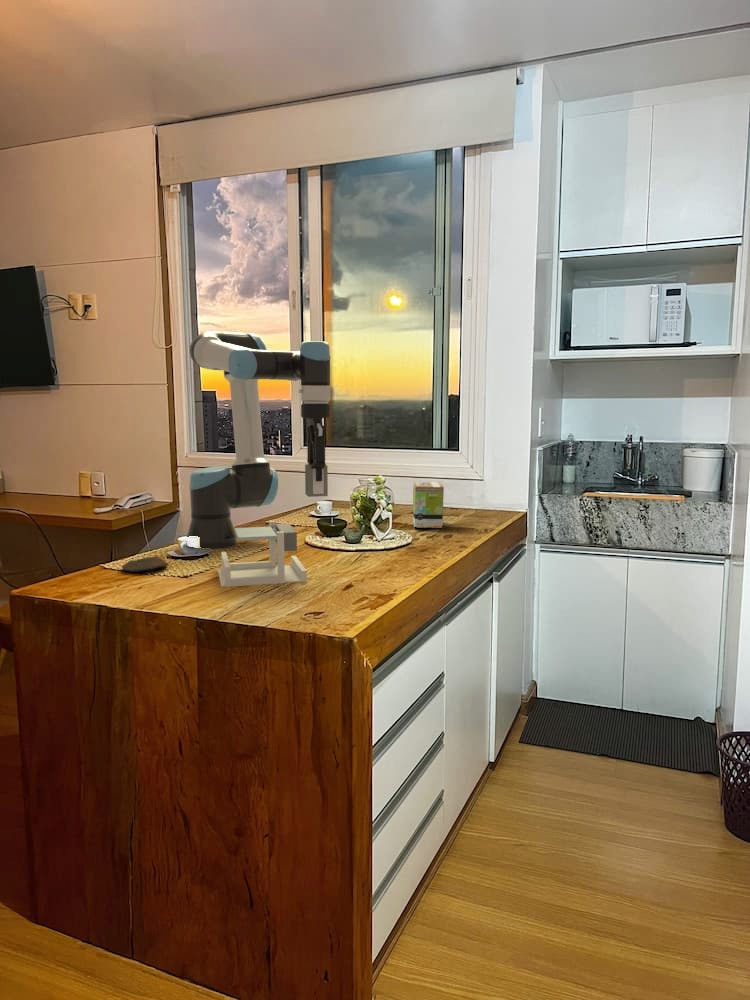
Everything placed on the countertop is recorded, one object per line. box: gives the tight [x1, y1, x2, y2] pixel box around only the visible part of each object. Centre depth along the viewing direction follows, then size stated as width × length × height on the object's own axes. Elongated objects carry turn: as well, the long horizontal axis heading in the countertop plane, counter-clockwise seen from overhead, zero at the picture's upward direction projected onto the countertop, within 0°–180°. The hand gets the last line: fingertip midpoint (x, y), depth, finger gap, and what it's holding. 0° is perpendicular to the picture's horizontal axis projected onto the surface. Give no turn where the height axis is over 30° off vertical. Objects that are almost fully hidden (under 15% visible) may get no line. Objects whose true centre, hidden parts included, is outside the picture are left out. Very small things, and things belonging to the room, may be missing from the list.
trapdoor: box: [234, 523, 298, 552], centre depth 178 cm, size 13×14×4 cm
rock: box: [121, 555, 169, 572], centre depth 186 cm, size 11×12×3 cm
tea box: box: [412, 481, 445, 528], centre depth 251 cm, size 15×10×15 cm
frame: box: [217, 520, 308, 588], centre depth 178 cm, size 18×20×12 cm
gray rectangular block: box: [304, 463, 329, 498], centre depth 189 cm, size 5×5×8 cm
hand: (316, 492), depth 190 cm, fingers closed on gray rectangular block, 5 cm apart
